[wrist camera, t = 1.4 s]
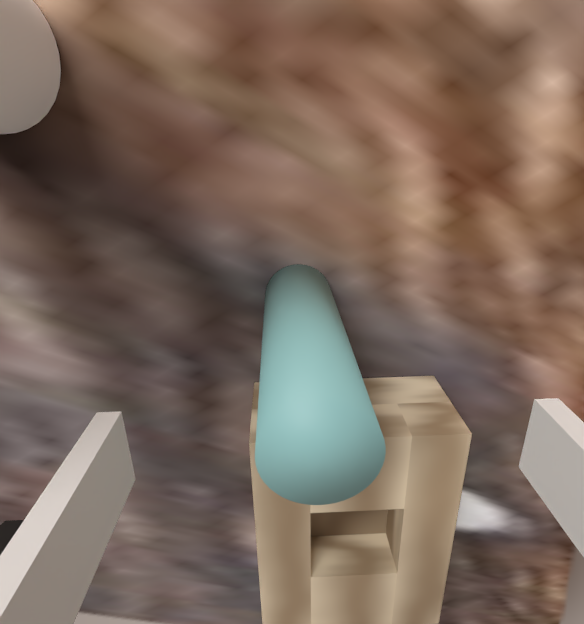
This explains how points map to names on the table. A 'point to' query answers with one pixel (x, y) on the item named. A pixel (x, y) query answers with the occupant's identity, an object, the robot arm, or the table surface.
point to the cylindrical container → (26, 66)
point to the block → (370, 521)
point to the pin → (312, 397)
